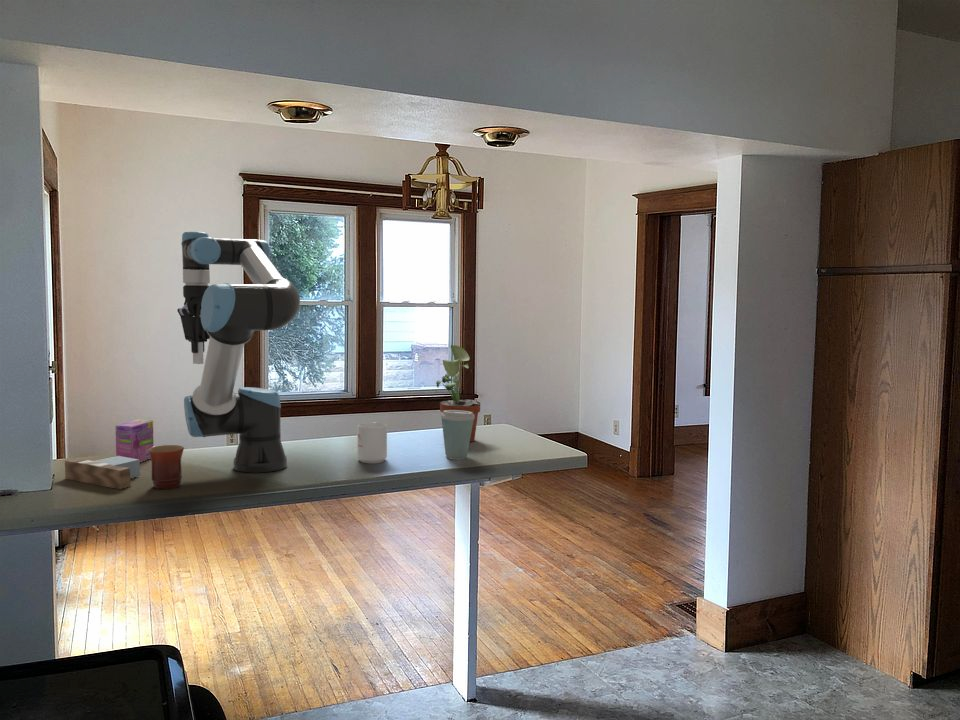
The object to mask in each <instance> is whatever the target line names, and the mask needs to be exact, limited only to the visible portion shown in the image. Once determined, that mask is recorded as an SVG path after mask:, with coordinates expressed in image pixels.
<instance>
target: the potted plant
mask: <svg viewBox="0 0 960 720" xmlns="http://www.w3.org/2000/svg"><path fill="white" fill-rule="evenodd" d="M450 349H451V351H452V354H453V356H454V357H453V358H454V360H449V359H448V360H447V359H443V360H442V364H443V367H444V371H445V372H446V373H445V375H443V376H442V377H441V380H439V379H438V380H437V381H436V382H435V384H436V387H437V388H438V389H439V386H440V384H442V385H443V387H444V388H445V389H446V390H447V391H448V393H449V394H450V396H451V400H449V399H448V400H443V401H440V402H439V408H440V409H439V411H440V412H441V413H443V411H444V410H461V411H469V412H472V413H473V414H474V416H475V418H474V420H473V426H472V431H471V437H470V442H469V443H471V442H475V440H476V430H477V424H478V418H479V413H480V412H481V402H480V401H477V400H474V399H460V391H459V389H460V388H459V387H460V380H461V375H462V369H463V367H464V368H465V369H469V368H470V366H469V362H467V361H470V359H471V357H470V355H469V354H468V352H467V350H465V349H464V348H463V347H461V346H459V345H456V344H455V345H453V344H451V345H450ZM460 362H466V363H465V364H464V363H460ZM450 377H452V378H450ZM451 382H452V383H451ZM453 388H454V389H453Z"/></svg>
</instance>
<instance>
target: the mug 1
mask: <svg viewBox="0 0 960 720" xmlns="http://www.w3.org/2000/svg"><path fill="white" fill-rule="evenodd" d="M184 450H185V447H184V446H182V445H178V444H166V445H165V444H163V445H157V446H156V445H155V446H154V447H152V448H150V449H148V452H149V454H150V457H151V459H150V460H151V484H152V487H153V488H155V489H157V490H173V489H177V488H178V487H180V485H182V481H183V480H182V478H183V470H182V469H183V468H182V467H183V466H182V459H183V458H182V456H183V453H184Z"/></svg>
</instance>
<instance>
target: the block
mask: <svg viewBox="0 0 960 720" xmlns="http://www.w3.org/2000/svg"><path fill="white" fill-rule="evenodd" d="M95 461H96V462H102V463H107V464H111V465H115V466H121V467H126V468H130V478H132V479H135V478H134V477H136V478H139V477H138V476H140V477H141V471H140V470H141V468H140V467H141V466H140V465H141V464H140V461H139V459H133V458H128V457H122V456H116V455H115V456H111V457H106V458H101V459H96V460H95Z"/></svg>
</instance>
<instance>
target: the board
mask: <svg viewBox="0 0 960 720" xmlns="http://www.w3.org/2000/svg"><path fill="white" fill-rule="evenodd" d="M64 475H65V476H64V477H65V480H71V481H76V482H81V483H85V484H91V485H97V486H102V487H107V488H113V489H116V490H117V489H118V490H123V488H124V489H127V487H128V488H130V486H131V479H130V468H126V467H121V466H115V465H111V464H107V463H102V462H96V460H89V459H88V460H86V459H80V458H72V459H71V458H70V459H67V460H64Z"/></svg>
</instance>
